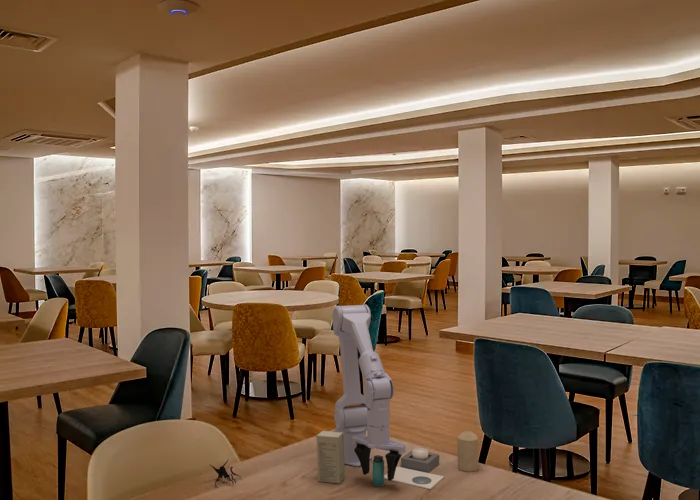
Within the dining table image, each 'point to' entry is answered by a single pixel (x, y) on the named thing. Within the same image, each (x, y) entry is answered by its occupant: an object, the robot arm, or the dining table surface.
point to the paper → (415, 478)
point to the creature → (224, 473)
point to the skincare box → (330, 456)
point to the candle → (468, 451)
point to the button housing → (420, 462)
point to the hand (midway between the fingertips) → (378, 476)
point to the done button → (420, 453)
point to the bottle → (378, 471)
